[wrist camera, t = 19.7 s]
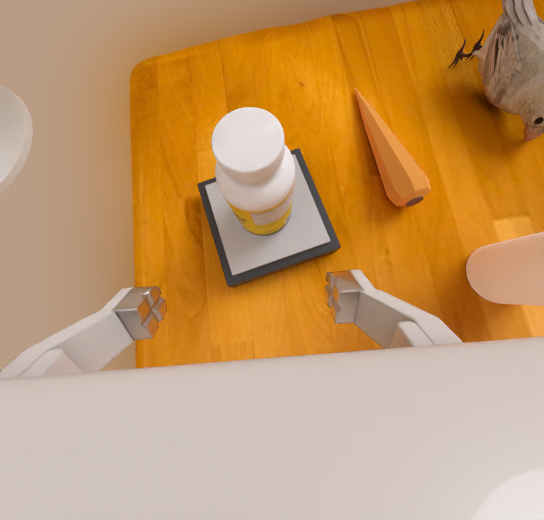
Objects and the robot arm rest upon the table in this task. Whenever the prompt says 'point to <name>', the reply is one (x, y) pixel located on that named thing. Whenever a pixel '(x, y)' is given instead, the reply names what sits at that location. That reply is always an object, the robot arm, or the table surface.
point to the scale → (274, 248)
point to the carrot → (393, 160)
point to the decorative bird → (514, 64)
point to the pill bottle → (254, 169)
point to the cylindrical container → (509, 271)
